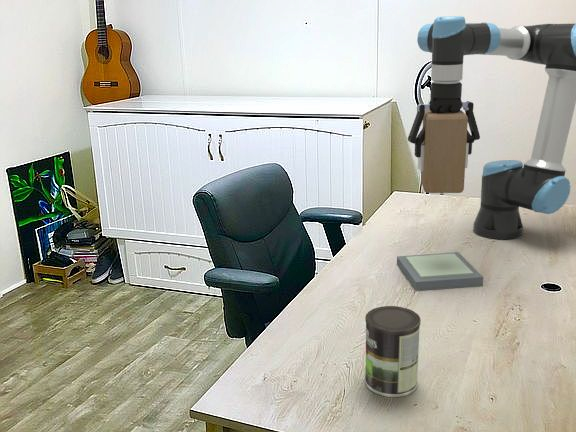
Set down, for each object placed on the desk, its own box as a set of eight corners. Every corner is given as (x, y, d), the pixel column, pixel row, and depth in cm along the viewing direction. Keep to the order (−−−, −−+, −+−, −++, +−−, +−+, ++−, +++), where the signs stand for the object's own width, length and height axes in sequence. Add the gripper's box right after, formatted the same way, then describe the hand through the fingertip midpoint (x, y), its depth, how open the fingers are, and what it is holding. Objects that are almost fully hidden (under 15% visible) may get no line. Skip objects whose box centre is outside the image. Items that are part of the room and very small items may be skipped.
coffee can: (370, 399, 118) (371, 332, 114) (360, 370, 128) (360, 307, 123) (424, 395, 119) (427, 328, 114) (410, 366, 128) (412, 303, 124)
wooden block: (458, 183, 169) (462, 108, 162) (464, 194, 159) (468, 114, 153) (420, 183, 170) (422, 109, 164) (424, 194, 160) (426, 115, 154)
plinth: (457, 260, 181) (458, 250, 180) (482, 285, 164) (483, 275, 163) (396, 264, 180) (396, 254, 179) (415, 290, 163) (415, 280, 162)
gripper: (485, 78, 161) (480, 162, 167) (396, 82, 158) (394, 167, 165) (498, 81, 153) (491, 169, 160) (404, 85, 151) (402, 174, 158)
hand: (442, 168), depth 163 cm, fingers closed on wooden block, 11 cm apart
